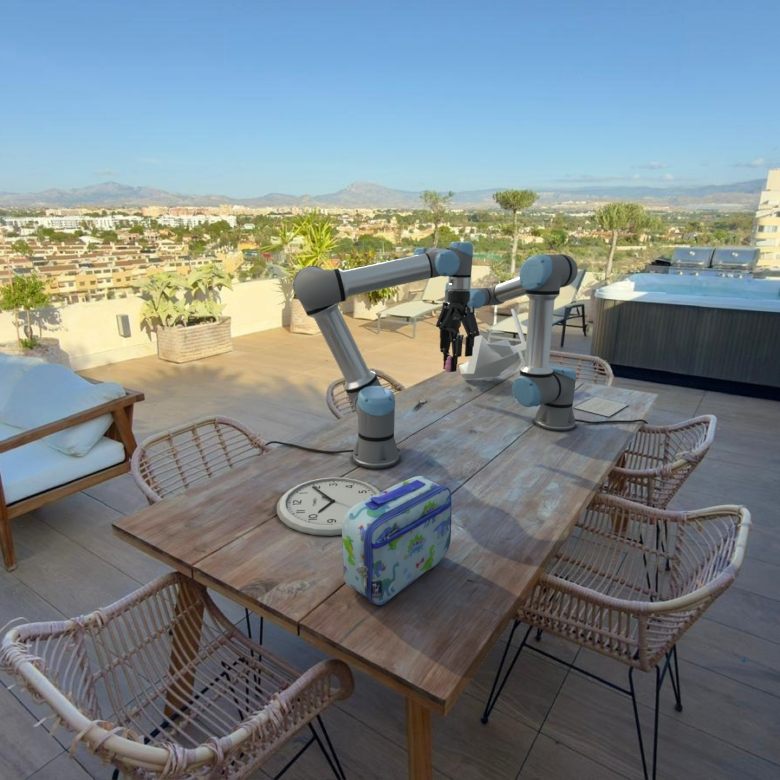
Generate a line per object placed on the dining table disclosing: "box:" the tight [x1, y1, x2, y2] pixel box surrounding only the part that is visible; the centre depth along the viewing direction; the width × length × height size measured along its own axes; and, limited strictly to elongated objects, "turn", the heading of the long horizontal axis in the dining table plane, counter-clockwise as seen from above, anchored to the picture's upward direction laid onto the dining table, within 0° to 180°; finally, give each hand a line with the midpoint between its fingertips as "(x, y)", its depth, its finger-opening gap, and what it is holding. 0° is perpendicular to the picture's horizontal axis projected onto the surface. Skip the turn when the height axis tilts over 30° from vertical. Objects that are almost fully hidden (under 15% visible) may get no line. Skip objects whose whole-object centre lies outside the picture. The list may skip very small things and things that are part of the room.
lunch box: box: [341, 475, 453, 606], centre depth 111 cm, size 26×11×21 cm, turn 134°
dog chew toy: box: [444, 355, 453, 373], centre depth 231 cm, size 4×4×7 cm
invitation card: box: [573, 396, 629, 418], centre depth 226 cm, size 21×1×15 cm
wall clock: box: [276, 476, 382, 537], centre depth 142 cm, size 30×2×30 cm
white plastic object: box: [458, 308, 526, 380], centre depth 254 cm, size 37×45×31 cm
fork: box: [413, 394, 428, 410], centre depth 224 cm, size 3×16×2 cm, turn 160°
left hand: (455, 352), depth 181 cm, fingers open, 13 cm apart
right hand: (449, 370), depth 232 cm, fingers closed on dog chew toy, 4 cm apart
